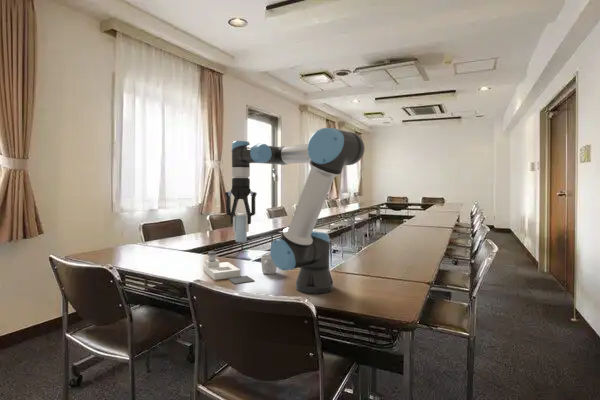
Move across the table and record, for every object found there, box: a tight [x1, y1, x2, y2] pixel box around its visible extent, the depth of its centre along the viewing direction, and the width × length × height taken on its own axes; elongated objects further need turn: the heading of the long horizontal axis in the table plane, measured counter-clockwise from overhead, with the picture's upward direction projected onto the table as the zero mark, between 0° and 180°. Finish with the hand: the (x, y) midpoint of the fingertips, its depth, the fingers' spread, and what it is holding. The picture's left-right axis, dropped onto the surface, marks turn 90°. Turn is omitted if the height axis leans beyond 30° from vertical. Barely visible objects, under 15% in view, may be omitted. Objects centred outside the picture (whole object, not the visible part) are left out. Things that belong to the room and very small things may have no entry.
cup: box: [260, 254, 278, 275], centre depth 162 cm, size 11×8×8 cm
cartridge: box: [234, 212, 248, 243], centre depth 150 cm, size 5×5×12 cm
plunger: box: [207, 251, 217, 262], centre depth 164 cm, size 4×4×6 cm
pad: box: [227, 275, 255, 285], centre depth 151 cm, size 9×9×1 cm
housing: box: [202, 258, 241, 281], centre depth 162 cm, size 18×12×6 cm, turn 30°
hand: (240, 231), depth 150 cm, fingers closed on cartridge, 5 cm apart
